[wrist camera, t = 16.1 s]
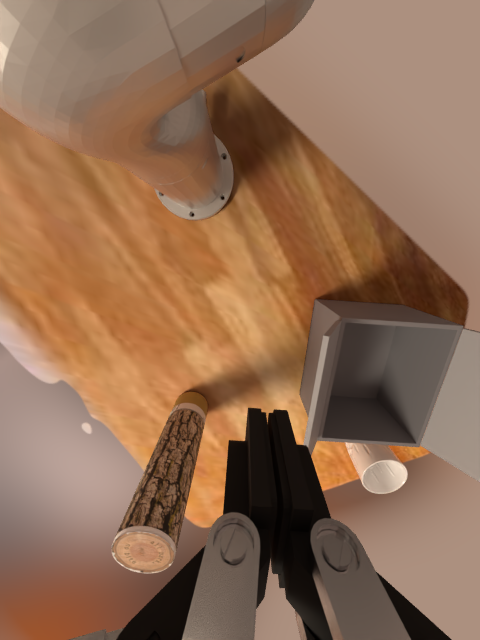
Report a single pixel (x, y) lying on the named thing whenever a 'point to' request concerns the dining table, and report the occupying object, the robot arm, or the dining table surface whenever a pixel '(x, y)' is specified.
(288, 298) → the dining table surface
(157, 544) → the paper tube
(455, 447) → the flap
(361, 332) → the carton
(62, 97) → the robot arm
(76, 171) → the dining table surface
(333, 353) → the flap
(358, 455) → the white cup
